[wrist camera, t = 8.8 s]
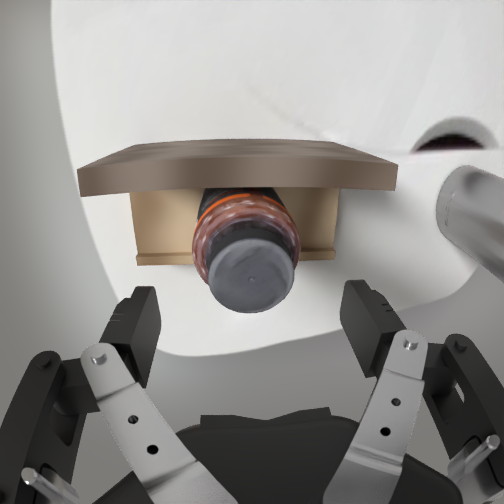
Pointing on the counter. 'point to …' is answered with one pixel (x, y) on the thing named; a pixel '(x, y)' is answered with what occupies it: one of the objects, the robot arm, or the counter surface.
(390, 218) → the counter surface
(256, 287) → the supplement bottle
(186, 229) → the cleat board
